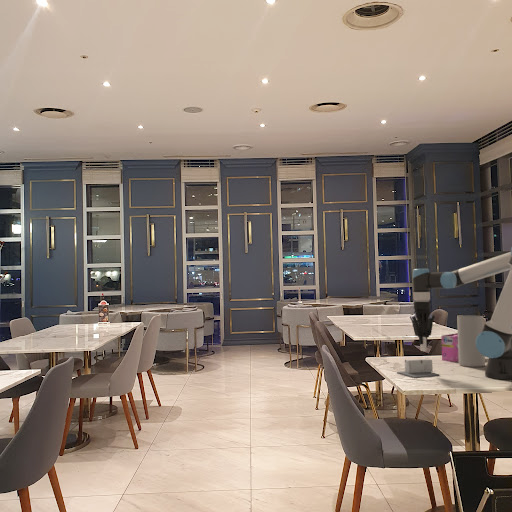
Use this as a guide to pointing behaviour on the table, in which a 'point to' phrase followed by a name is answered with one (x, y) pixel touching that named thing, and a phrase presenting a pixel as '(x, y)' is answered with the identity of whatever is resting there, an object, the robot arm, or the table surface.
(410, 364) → the skincare box
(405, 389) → the table surface
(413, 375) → the mat
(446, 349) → the gum box
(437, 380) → the table surface
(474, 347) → the cylinder vase
